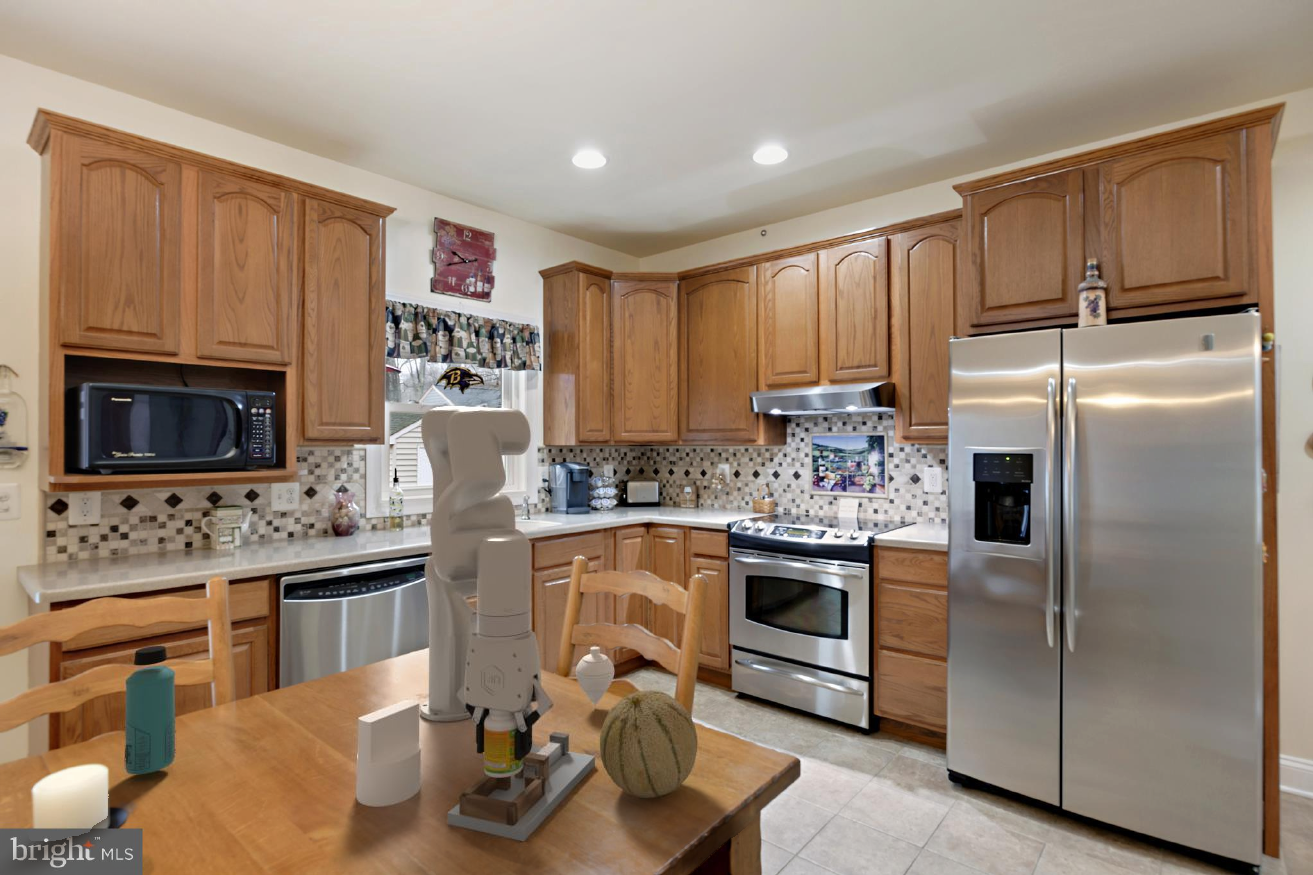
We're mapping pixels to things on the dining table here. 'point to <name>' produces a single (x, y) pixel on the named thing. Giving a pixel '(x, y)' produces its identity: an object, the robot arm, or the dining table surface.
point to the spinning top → (595, 674)
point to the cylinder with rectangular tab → (389, 755)
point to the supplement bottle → (500, 744)
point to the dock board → (557, 787)
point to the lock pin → (550, 752)
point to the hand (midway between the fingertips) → (503, 751)
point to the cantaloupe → (648, 744)
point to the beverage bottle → (150, 713)
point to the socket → (497, 810)
